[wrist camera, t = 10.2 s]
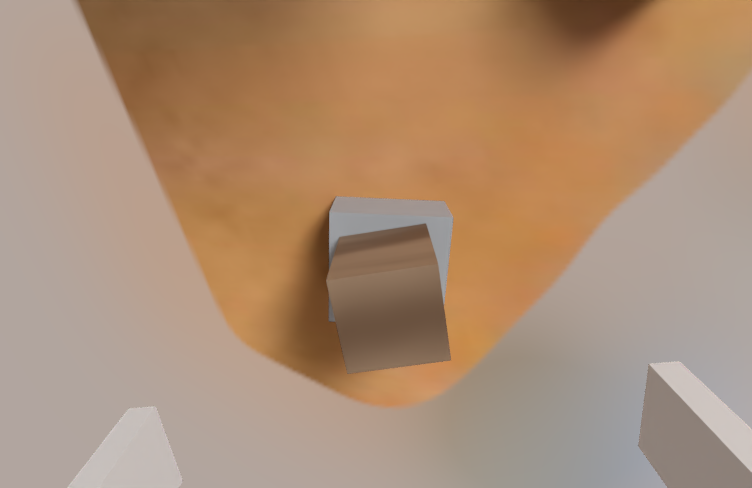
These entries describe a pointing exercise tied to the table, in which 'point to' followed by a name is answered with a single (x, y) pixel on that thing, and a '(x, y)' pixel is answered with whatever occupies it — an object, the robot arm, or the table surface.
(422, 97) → the table surface
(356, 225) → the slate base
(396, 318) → the walnut block
